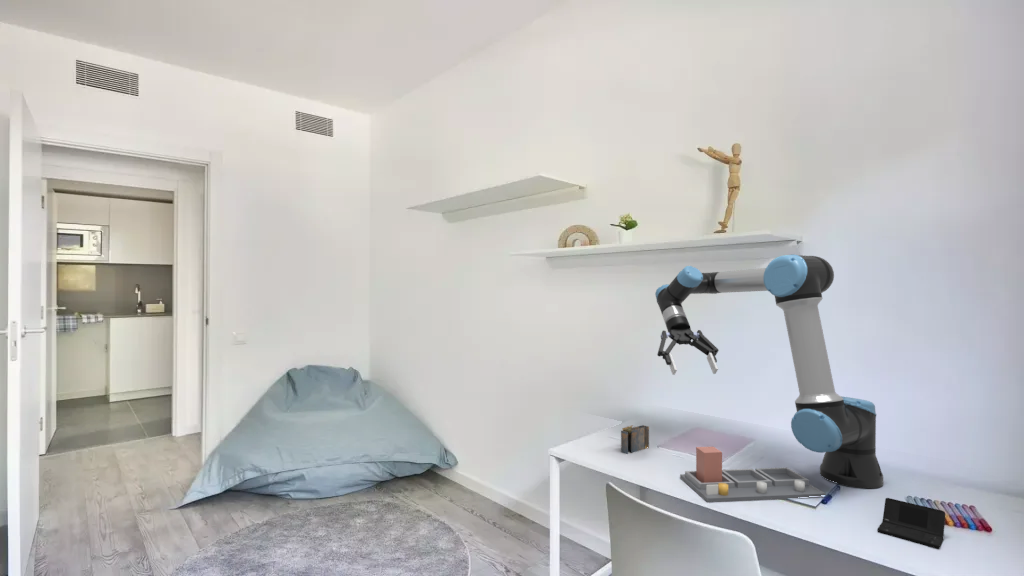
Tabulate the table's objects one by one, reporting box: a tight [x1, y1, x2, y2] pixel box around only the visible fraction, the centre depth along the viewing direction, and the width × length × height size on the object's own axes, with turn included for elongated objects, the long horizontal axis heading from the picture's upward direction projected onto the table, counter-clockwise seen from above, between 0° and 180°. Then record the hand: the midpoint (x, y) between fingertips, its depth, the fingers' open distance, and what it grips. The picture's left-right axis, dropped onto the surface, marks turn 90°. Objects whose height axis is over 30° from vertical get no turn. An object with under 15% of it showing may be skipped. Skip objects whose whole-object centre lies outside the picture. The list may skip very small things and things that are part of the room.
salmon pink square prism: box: [695, 446, 723, 483], centre depth 143 cm, size 5×5×9 cm
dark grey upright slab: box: [620, 424, 650, 455], centre depth 175 cm, size 11×3×10 cm, turn 128°
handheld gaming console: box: [877, 497, 946, 550], centre depth 115 cm, size 12×7×10 cm
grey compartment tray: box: [679, 467, 827, 503], centre depth 142 cm, size 32×17×3 cm, turn 95°
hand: (695, 371), depth 166 cm, fingers open, 13 cm apart
